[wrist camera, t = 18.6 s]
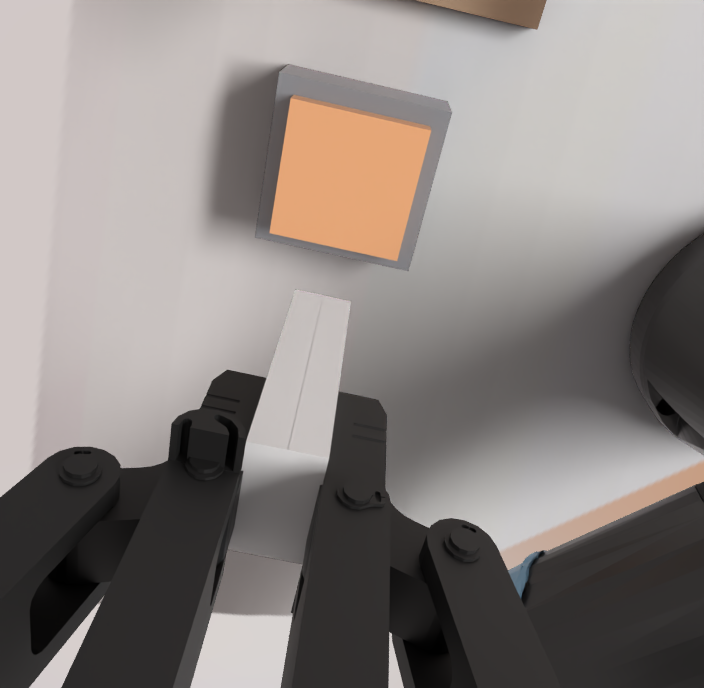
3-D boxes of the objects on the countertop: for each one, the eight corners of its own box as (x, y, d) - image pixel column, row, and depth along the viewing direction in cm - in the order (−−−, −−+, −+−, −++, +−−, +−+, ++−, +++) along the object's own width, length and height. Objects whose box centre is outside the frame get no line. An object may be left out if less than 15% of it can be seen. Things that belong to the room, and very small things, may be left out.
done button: (427, 116, 33) (431, 130, 30) (396, 237, 36) (397, 261, 33) (300, 86, 32) (290, 98, 29) (280, 210, 36) (269, 233, 32)
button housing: (447, 101, 33) (451, 112, 30) (407, 250, 37) (408, 271, 34) (288, 64, 32) (279, 71, 30) (265, 218, 36) (254, 237, 34)
